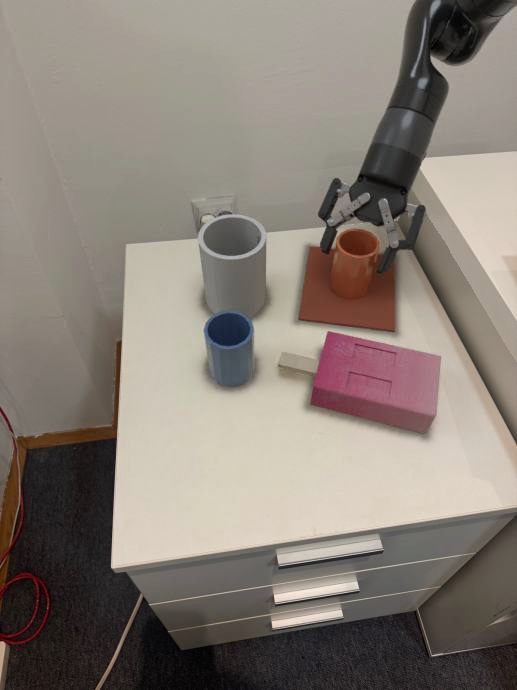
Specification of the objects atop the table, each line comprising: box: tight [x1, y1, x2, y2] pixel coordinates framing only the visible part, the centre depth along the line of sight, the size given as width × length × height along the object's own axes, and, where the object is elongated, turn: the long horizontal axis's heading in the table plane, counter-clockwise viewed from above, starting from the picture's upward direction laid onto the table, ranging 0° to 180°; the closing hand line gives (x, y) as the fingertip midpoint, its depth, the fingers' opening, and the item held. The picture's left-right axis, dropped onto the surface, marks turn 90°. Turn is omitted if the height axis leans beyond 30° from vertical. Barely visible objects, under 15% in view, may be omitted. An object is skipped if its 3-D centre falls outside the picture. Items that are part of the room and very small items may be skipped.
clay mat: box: [298, 245, 396, 333], centre depth 76 cm, size 14×16×1 cm
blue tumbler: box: [203, 310, 255, 388], centre depth 63 cm, size 6×6×8 cm
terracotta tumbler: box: [330, 228, 381, 299], centre depth 72 cm, size 6×6×8 cm
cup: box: [197, 213, 267, 318], centre depth 70 cm, size 9×9×12 cm
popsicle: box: [277, 330, 442, 434], centre depth 63 cm, size 9×5×20 cm
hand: (351, 263), depth 70 cm, fingers open, 8 cm apart
